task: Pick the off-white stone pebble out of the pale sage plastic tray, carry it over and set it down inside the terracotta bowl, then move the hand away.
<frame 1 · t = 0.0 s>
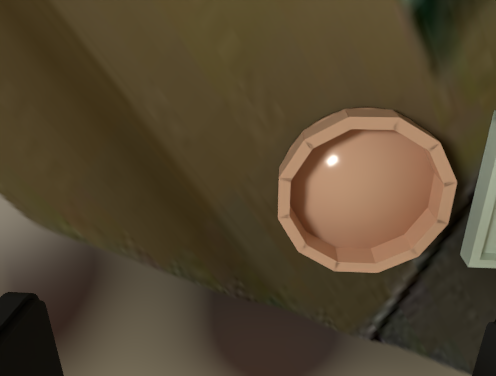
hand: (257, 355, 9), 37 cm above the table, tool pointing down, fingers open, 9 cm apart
bowl: (358, 184, 47), on the table
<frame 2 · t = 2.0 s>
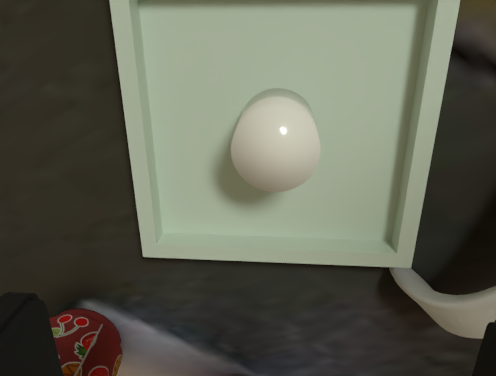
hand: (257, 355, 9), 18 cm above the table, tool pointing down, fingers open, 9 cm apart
tray: (277, 121, 26), on the table
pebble: (277, 125, 25), point 1 cm above the table, touching tray
smoothie: (88, 333, 35), on the table
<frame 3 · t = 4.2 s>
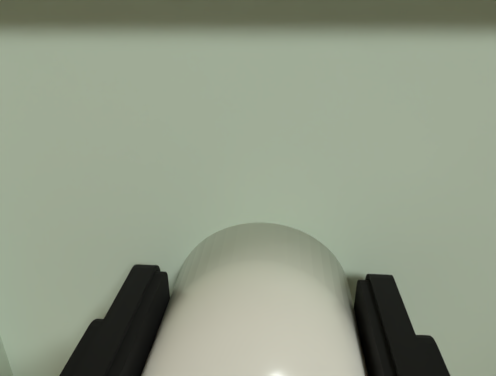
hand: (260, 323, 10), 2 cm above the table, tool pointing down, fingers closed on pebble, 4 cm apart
tray: (263, 274, 12), on the table
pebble: (262, 297, 11), point 1 cm above the table, touching gripper, tray
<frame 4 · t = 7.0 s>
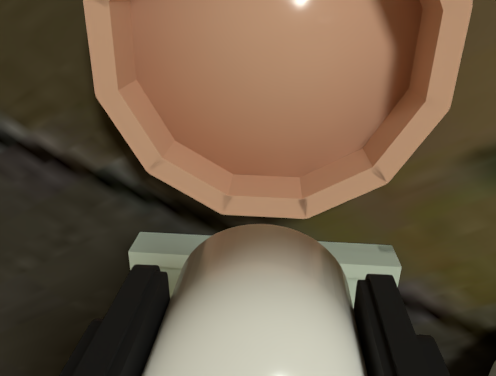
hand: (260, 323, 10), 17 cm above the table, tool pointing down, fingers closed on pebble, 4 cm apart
tray: (259, 335, 32), on the table
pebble: (262, 298, 11), point 16 cm above the table, touching gripper
bowl: (272, 43, 24), on the table
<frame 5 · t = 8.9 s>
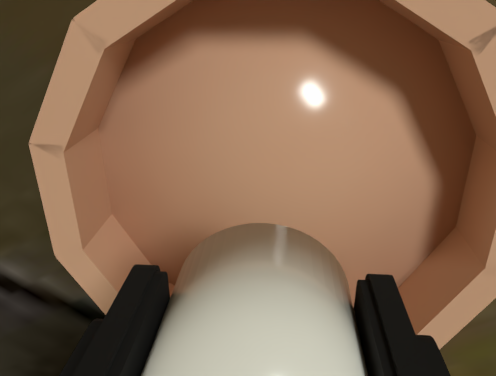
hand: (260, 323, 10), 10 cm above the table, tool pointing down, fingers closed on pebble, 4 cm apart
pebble: (262, 298, 11), point 9 cm above the table, touching gripper
bowl: (279, 169, 19), on the table
when the fingers open (4 cm above the table, at t = 10.2 s): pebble drops 2 cm, resting on bowl.
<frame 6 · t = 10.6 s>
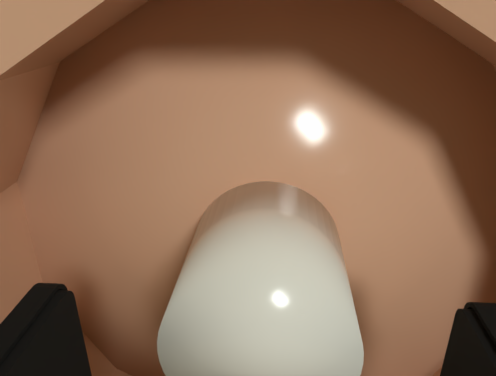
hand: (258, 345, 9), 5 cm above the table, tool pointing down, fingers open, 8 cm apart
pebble: (266, 246, 13), point 1 cm above the table, touching bowl
bowl: (266, 231, 14), on the table
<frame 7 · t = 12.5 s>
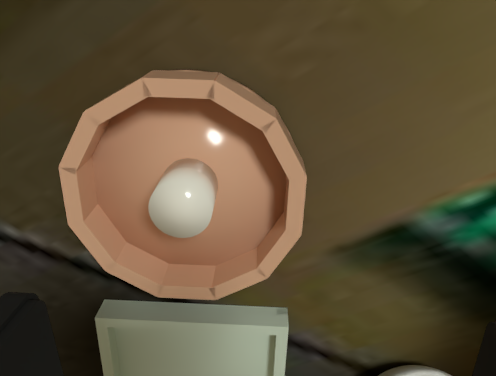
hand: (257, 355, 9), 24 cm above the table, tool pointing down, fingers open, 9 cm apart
tray: (197, 370, 43), on the table
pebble: (190, 184, 33), point 1 cm above the table, touching bowl
bowl: (191, 179, 34), on the table
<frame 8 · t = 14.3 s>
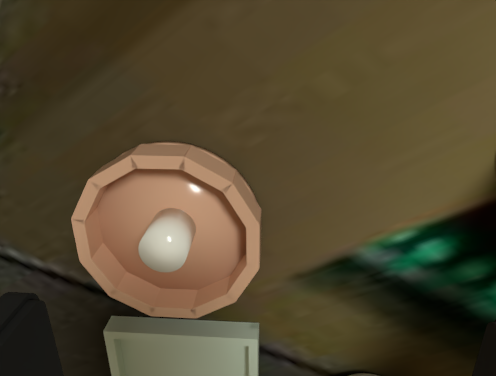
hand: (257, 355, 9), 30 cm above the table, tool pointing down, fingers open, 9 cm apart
tray: (189, 373, 52), on the table
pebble: (173, 227, 42), point 1 cm above the table, touching bowl
bowl: (175, 222, 43), on the table
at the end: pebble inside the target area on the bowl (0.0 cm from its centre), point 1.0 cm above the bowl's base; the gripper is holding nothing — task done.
